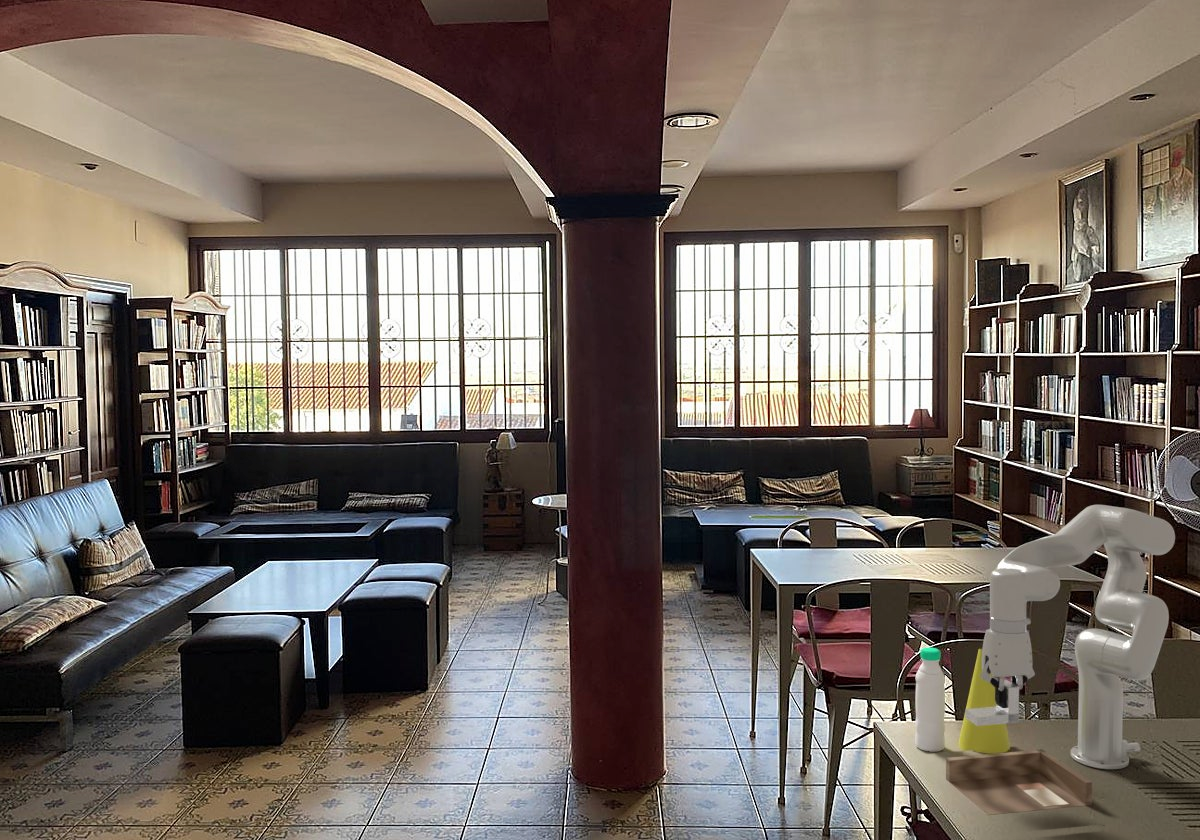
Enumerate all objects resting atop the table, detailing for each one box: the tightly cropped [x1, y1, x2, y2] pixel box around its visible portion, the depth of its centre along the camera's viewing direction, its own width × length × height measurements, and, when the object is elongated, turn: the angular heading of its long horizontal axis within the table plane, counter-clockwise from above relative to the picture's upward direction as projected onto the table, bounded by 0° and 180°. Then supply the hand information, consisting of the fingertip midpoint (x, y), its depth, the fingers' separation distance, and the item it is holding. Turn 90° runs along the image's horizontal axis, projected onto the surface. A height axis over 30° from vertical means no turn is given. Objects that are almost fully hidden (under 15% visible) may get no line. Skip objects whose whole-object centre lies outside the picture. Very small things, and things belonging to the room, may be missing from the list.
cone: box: [957, 648, 1011, 754], centre depth 248 cm, size 12×12×25 cm
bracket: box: [964, 679, 1020, 726], centre depth 223 cm, size 10×5×8 cm, turn 99°
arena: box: [945, 749, 1093, 816], centre depth 222 cm, size 24×18×6 cm
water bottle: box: [914, 646, 946, 753], centre depth 249 cm, size 7×7×25 cm
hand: (1007, 704), depth 224 cm, fingers closed on bracket, 2 cm apart
